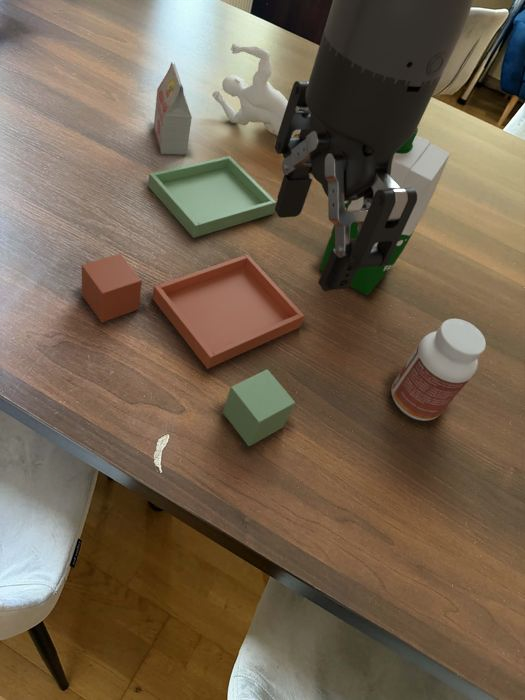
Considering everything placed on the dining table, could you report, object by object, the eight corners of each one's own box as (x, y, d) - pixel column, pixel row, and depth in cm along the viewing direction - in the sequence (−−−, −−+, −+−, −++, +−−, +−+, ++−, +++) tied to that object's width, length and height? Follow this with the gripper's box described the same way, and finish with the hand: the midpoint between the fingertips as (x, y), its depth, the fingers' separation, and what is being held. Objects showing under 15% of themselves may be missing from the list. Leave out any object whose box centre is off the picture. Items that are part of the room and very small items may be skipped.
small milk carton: (178, 128, 88) (186, 63, 80) (186, 154, 84) (195, 88, 76) (153, 126, 86) (159, 60, 79) (161, 153, 82) (168, 86, 75)
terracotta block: (101, 323, 61) (102, 293, 58) (81, 294, 63) (81, 264, 59) (139, 309, 63) (142, 280, 60) (118, 282, 65) (120, 253, 62)
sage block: (248, 446, 56) (259, 422, 52) (222, 412, 57) (230, 386, 54) (283, 427, 58) (295, 402, 55) (257, 394, 60) (267, 368, 56)
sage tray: (193, 238, 73) (195, 225, 71) (147, 186, 77) (149, 173, 76) (273, 213, 80) (276, 202, 78) (227, 167, 84) (229, 155, 83)
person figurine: (342, 65, 89) (237, 29, 81) (360, 126, 84) (249, 94, 76) (301, 127, 100) (204, 100, 92) (315, 184, 95) (213, 162, 86)
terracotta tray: (207, 369, 60) (210, 357, 59) (152, 298, 65) (153, 285, 63) (300, 327, 67) (305, 315, 66) (244, 265, 72) (248, 253, 70)
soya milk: (336, 237, 80) (394, 101, 65) (394, 268, 78) (467, 136, 63) (310, 270, 74) (366, 128, 59) (371, 304, 73) (445, 168, 58)
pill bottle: (447, 425, 63) (501, 364, 55) (395, 420, 62) (442, 357, 53) (434, 379, 67) (483, 316, 59) (385, 373, 66) (428, 308, 57)
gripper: (282, -16, 36) (233, 196, 48) (395, 109, 29) (304, 322, 41) (379, -6, 39) (310, 191, 51) (504, 110, 32) (389, 307, 44)
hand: (308, 249), depth 46 cm, fingers open, 8 cm apart
